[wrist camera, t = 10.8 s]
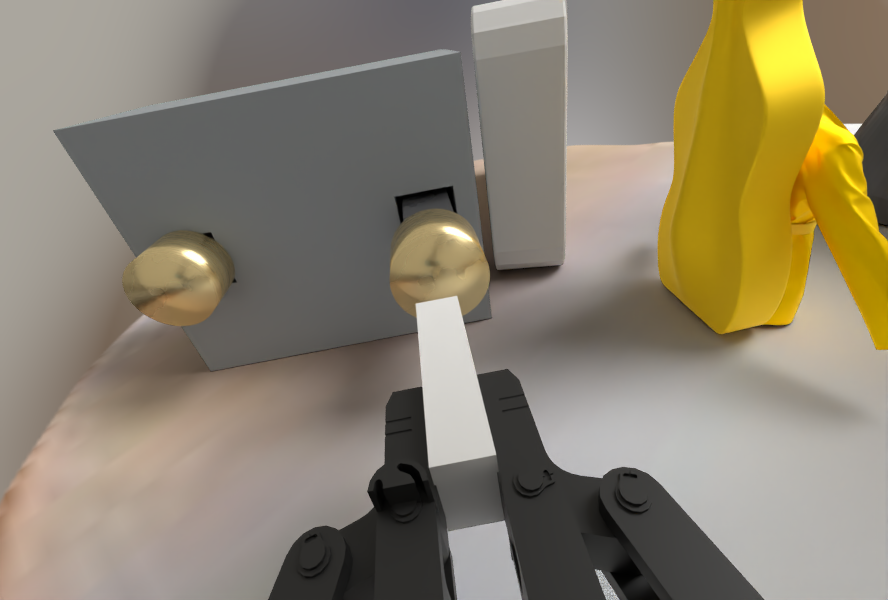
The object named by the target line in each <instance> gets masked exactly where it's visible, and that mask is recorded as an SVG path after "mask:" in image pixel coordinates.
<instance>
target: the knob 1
mask: <svg viewBox="0 0 888 600" xmlns="http://www.w3.org/2000/svg"><path fill="white" fill-rule="evenodd" d="M234 277H235V268H234V264H233V261H232V259H231V257H230V255H229V254H228V252H227V251H226V250H225V249H224V248H223V247H222V246H221V245H220V244H219V243H218V242H216V241H215V239H214V237H213V235H212V233H211V232H208V233H202V234H201V233H198V232H194V231H187V230H179V231H173V232H170V233H167V234H165V235H163V236H162V237H161V238H159V239H158V240H157V241H156V242H155V243H153V244H152V245H151V246H150V247H149V248H147V249H146V250H145V251H144V252H143V253H141V254H140V255H139V256H138V257H137V258H135V259H134V260H133V261H132V262H131V263H129V265H128V266H127V267H126V269H125V271H124V273H123V278H122V283H123V288H124V291H125V293H126V295H127V297H128V299H129V300H130V301H131V303H132V304H133V305H134V306H135V307H136V308H137V309H138V310H139V311H141V312H142V313H143V314H145V315H146V316H148V317H150V318H152V319H154V320H156V321H158V322H161V323H164V324H168V325H174V326H190V325H195V324H198V323H200V322H202V321H204V320H206V319H207V318H208V317H209V316H210V315H211V314H212V313H213V311H214V310H215V308H216V307H217V305H218V304H219V302H220V301H221V299H222V298H223V296H224V295H225V293H226V292H227V290H228V289H229V287H230V286H231V284H232V283H233V280H234Z"/></svg>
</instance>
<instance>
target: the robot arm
mask: <svg viewBox="0 0 888 600" xmlns="http://www.w3.org/2000/svg"><path fill="white" fill-rule="evenodd" d="M854 136H855V138H856V139H857V142H858V144H859V146H860V147H861V149H862V152H863V161H862V166H863V173H864V176H865V178H866V182H867V196H868V197H869V198H870V199H871V201H872V203H873V205H874V209H875V213H876V217H877V222H878V223H881V224H884V225H888V92H887V94H886V95H885V97H884V98H883V99H882V101H881V102H880V103H879V104H878V106H877V107H876V108H875V109H874V111H873V112H872V113H871V114H870V115H869V117H868V118H867V119H866V120H865V122H864V123H863V124H862V126H861V127H860V128H859V129H858V131H857V132H856V133H855V135H854ZM416 314H417V327H418V339H419V351H420V364H421V376H422V387H417V388H412V389H407V390H402V391H397V392H393V393H392V395H391V397H390V399H389V401H388V403H387V405H386V425H385V435H386V437H385V465H383V466H382V467H381V468H379V469H378V470H377V471H376V473H375V474H374V476H373V477H372V479H371V480H370V483H369V487H368V491H367V492H368V494H369V496H370V498H371V501H372V503H373V505H374V508H373V509H372V510H371V511H370V512H369V513H368V514H366V515H365V516H363V517H362V518H360V519H359V520H357V521H355V522H353V523H352V524H350V525H348V526H346V527H344V528H342V529H341V530H339V531H338V530H337V529H335V528H332V527H329V526H321V527H315V528H313V529H311V530H309V531H307V532H306V533H304V534H303V535H302V536H301V537H300V538H299V539H298V540H297V541H296V542H295V543H294V544H293V545H292V547H291V549H290V550H289V552H288V554H287V556H286V558H285V560H284V563H283V565H282V568H281V570H280V572H279V575H278V577H277V580H276V582H275V584H274V587H273V589H272V592H271V594H270V597H269V599H268V600H457V595H456V586H455V577H454V569H453V560H452V555H451V551H450V548H449V542H448V533H447V529H448V531H451V530H457V529H462V528H467V527H472V526H477V525H483V524H488V523H493V522H498V521H503V520H505V522H506V526H507V530H508V535H509V542H510V549H511V556H512V560H513V561H514V565H515V570H516V574H517V578H518V583H519V587H520V592H521V596H522V600H606V599H605V596H604V593H603V591H602V588H601V585H600V583H599V580H598V577H597V575H596V572H595V569H597V570H601V571H602V572H603V574H604V575H605V577H606V579H607V580H608V582H609V583H610V585H611V586H612V588H613V590H614V591H615V593H616V594H617V596H618V598H619V599H620V600H764V599H763V598H762V596H761V595H760V594H759V593H758V592H757V591H756V590H755V589H754V588H753V587H752V585H751V584H750V583H749V582H748V581H747V580H746V579H745V578H744V577H743V575H742V574H741V573H740V572H739V571H738V570H737V569H736V568H735V567H734V565H733V564H732V563H731V562H730V561H729V560H728V559H727V558H726V557H725V556H724V554H723V553H722V552H721V551H720V550H719V549H718V548H717V547H716V546H715V544H714V543H713V542H712V541H711V540H710V539H709V538H708V537H707V536H706V534H705V533H704V532H703V531H702V530H701V529H700V528H699V527H698V526H697V524H696V523H695V522H694V521H693V520H692V519H691V518H690V517H689V516H688V515H687V513H686V512H685V511H684V510H683V509H682V508H681V507H680V506H679V505H678V503H677V502H676V501H675V500H674V499H673V498H672V497H671V496H670V495H669V493H668V492H667V491H666V490H665V489H664V488H663V487H662V486H661V485H660V484H659V483H658V482H657V481H656V480H655V479H654V478H652V477H651V476H650V475H649V474H647V473H645V472H642V471H640V470H638V469H636V468H627V467H621V468H617V469H612V470H611V471H609V472H608V473H607V474H605V475H604V476H603V478H595V477H587V476H579V475H575V474H571V473H568V472H566V471H564V470H562V469H561V468H559V467H558V466H556V465H555V464H554V463H553V462H552V461H551V460H550V458H549V457H548V455H547V453H546V451H545V449H544V446H543V444H542V441H541V438H540V435H539V433H538V430H537V427H536V425H535V422H534V419H533V416H532V414H531V411H530V408H529V406H528V403H527V400H526V397H525V396H524V392H523V389H522V387H521V384H520V381H519V379H518V378H517V377H516V376H514V375H513V374H512V373H511V372H510V371H509V370H508V369H505V370H500V371H495V372H490V373H485V374H479V375H477V374H476V370H475V366H474V362H473V358H472V354H471V350H470V346H469V342H468V338H467V334H466V330H465V326H464V322H463V318H462V314H461V310H460V306H459V301H458V297H457V296H453V297H448V298H443V299H437V300H432V301H427V302H422V303H417V304H416Z"/></svg>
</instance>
